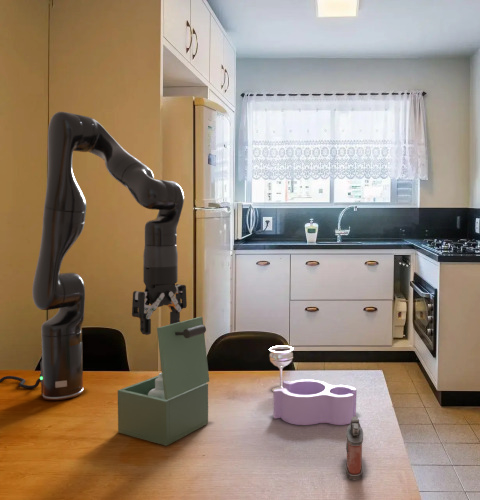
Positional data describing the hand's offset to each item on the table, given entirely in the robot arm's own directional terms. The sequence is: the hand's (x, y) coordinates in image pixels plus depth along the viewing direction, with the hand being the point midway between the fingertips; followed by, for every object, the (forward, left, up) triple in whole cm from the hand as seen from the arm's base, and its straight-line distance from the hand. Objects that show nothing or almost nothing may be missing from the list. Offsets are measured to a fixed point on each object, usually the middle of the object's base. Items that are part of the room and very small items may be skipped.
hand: (160, 330), depth 118 cm
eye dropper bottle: (+4, -4, -21) cm, 22 cm away
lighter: (+53, -1, -22) cm, 57 cm away
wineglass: (+15, +29, -22) cm, 40 cm away
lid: (+11, -4, -4) cm, 12 cm away
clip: (+33, +18, -22) cm, 44 cm away
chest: (+5, -4, -22) cm, 23 cm away
